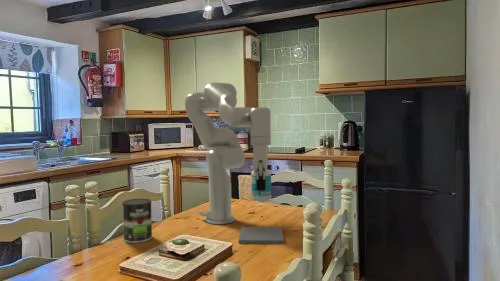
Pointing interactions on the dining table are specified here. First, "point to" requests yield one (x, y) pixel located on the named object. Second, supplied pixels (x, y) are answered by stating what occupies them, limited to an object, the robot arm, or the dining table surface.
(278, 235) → the plate
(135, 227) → the coffee can
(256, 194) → the pill bottle
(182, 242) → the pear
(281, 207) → the dining table surface
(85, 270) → the dining table surface
